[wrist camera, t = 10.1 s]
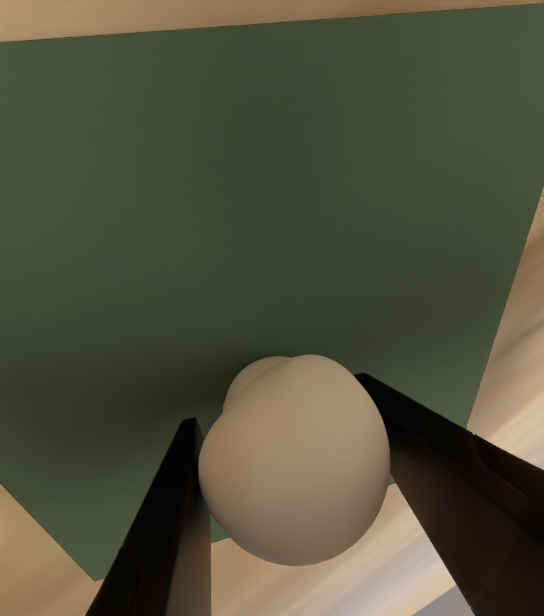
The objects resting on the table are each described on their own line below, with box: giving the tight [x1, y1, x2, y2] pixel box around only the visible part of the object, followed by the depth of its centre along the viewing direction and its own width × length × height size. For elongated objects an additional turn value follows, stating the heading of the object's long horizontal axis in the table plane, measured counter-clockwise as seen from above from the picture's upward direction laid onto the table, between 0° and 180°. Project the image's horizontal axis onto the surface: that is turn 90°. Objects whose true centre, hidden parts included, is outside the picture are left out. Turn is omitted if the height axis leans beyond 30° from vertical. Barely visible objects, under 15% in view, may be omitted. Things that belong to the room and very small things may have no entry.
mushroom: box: [198, 355, 390, 566], centre depth 8 cm, size 5×5×5 cm
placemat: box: [0, 3, 544, 581], centre depth 11 cm, size 18×18×1 cm
